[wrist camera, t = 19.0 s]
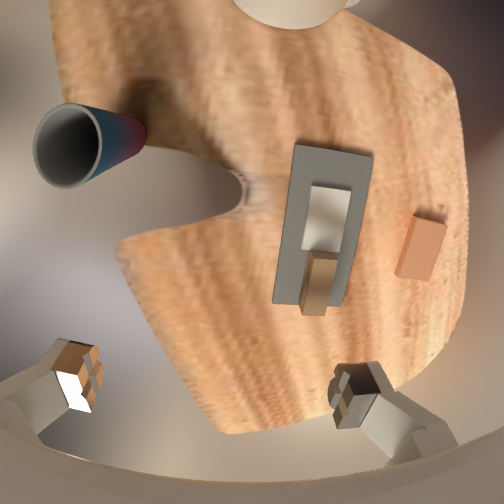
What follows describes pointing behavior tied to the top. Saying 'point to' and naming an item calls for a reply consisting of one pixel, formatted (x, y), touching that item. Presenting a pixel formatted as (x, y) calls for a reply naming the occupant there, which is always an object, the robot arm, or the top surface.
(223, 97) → the top surface
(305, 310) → the turner
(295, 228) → the rest mat
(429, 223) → the tile
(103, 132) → the cup
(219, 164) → the top surface
